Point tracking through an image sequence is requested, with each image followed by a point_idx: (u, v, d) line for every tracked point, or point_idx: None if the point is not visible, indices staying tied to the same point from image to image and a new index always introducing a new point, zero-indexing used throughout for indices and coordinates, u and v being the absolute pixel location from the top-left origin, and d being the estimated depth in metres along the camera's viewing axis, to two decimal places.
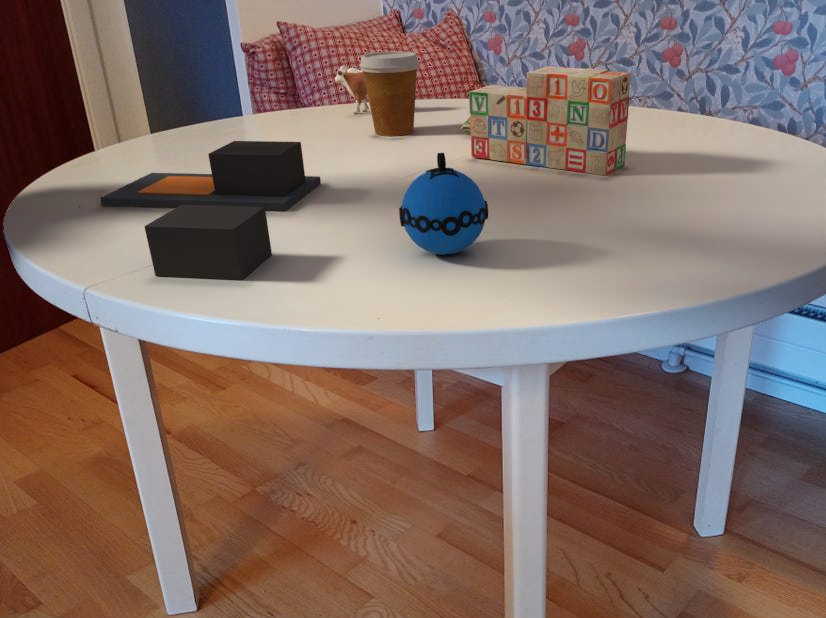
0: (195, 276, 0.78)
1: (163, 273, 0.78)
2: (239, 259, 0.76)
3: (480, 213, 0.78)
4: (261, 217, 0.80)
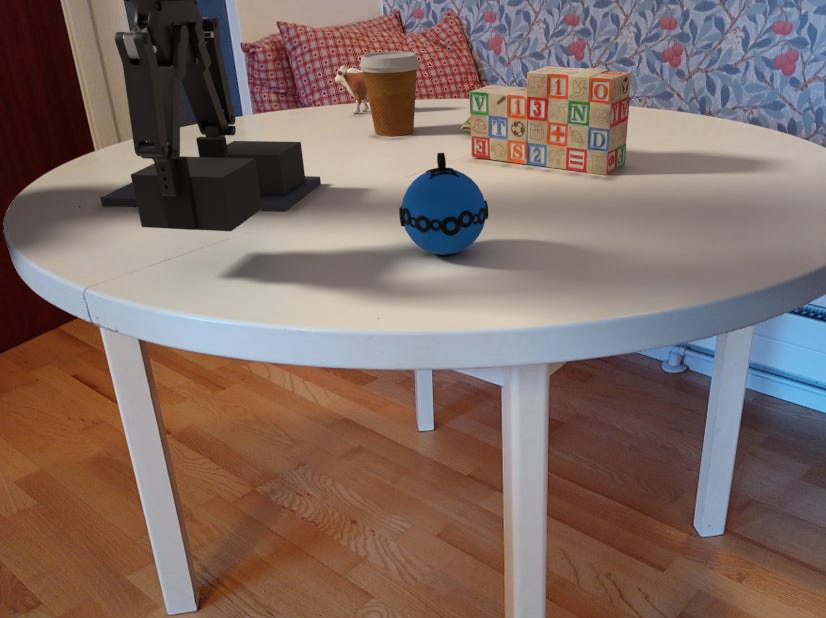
0: None
1: (149, 224, 0.76)
2: (227, 209, 0.74)
3: (480, 213, 0.78)
4: (251, 169, 0.78)
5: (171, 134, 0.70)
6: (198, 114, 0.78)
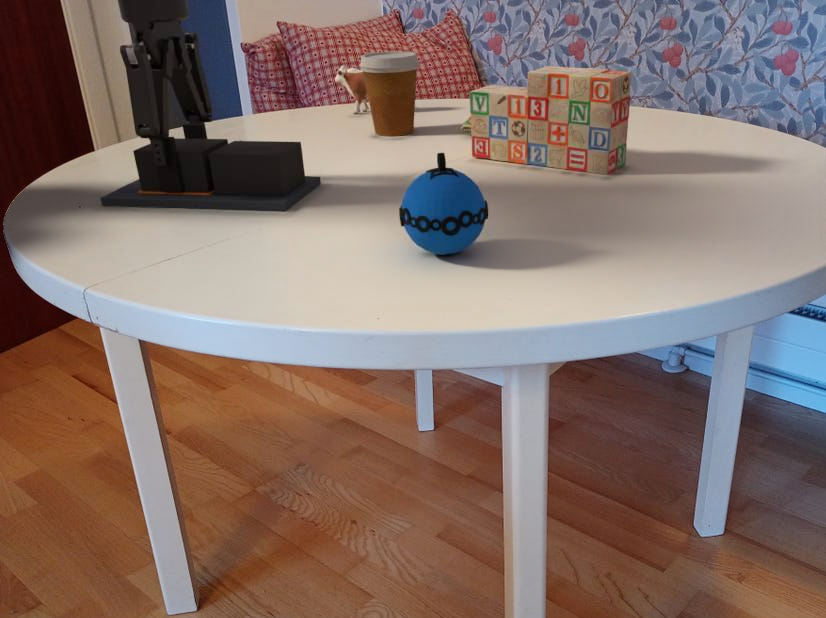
0: None
1: (148, 189, 1.01)
2: (205, 176, 0.99)
3: (480, 213, 0.78)
4: None
5: (162, 119, 0.95)
6: (183, 106, 1.03)
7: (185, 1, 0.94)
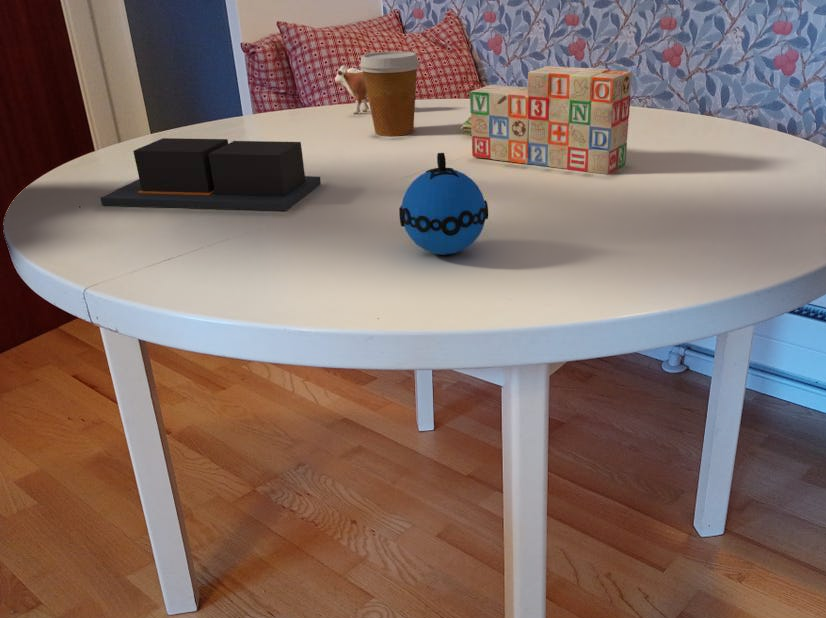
0: (172, 190, 1.01)
1: (148, 189, 1.01)
2: (205, 176, 0.99)
3: (480, 213, 0.78)
4: None
5: None
6: None
7: None
